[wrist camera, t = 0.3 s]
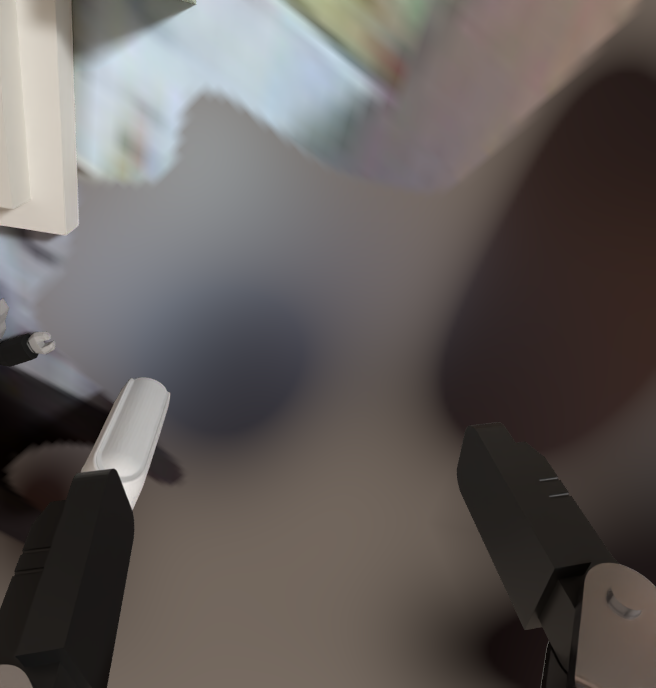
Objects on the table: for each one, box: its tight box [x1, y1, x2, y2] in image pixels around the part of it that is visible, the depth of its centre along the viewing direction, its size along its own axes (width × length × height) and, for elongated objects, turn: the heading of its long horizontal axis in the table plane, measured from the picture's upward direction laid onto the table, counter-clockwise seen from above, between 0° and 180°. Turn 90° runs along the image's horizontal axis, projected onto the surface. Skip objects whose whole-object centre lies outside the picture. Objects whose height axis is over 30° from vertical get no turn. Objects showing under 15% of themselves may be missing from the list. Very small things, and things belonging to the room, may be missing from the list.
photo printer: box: [81, 377, 170, 510], centre depth 38 cm, size 10×4×12 cm, turn 150°
